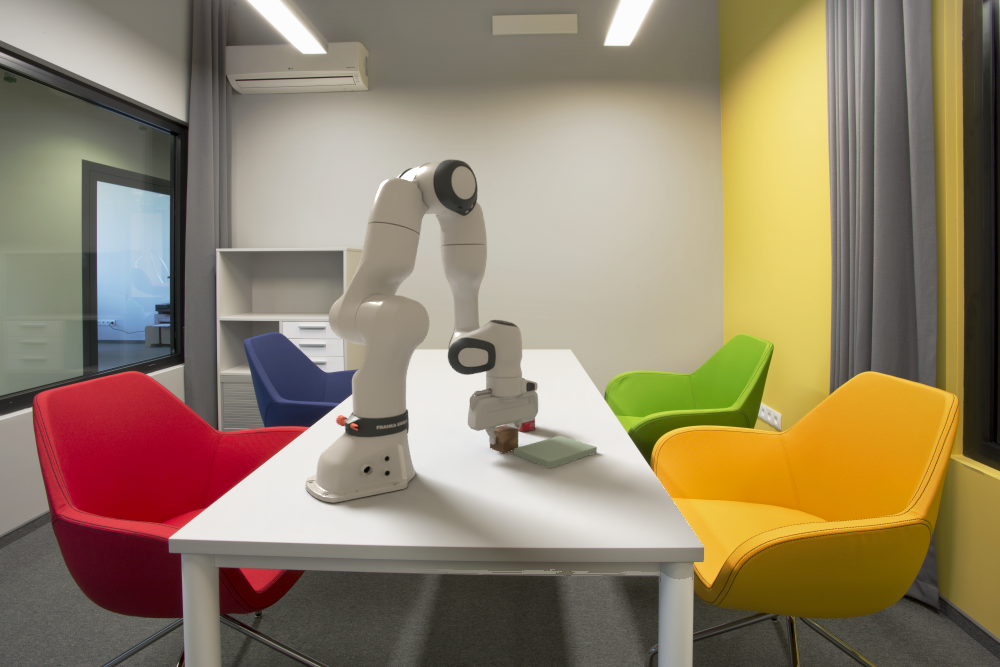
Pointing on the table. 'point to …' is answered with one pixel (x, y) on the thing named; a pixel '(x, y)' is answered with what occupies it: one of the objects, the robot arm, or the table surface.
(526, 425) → the ink box
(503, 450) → the walnut cube
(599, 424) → the table surface
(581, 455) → the sage board
